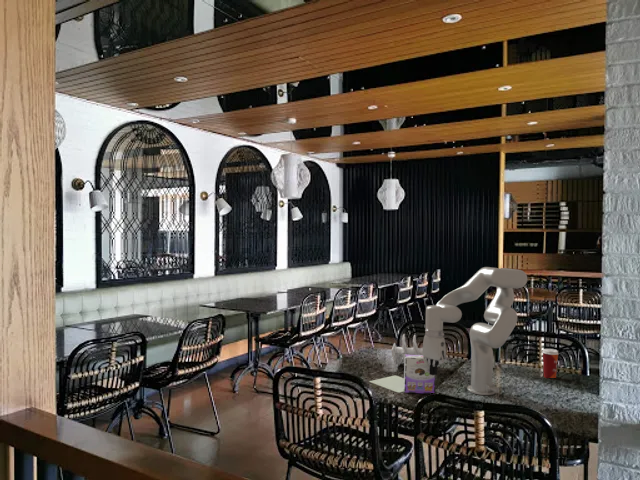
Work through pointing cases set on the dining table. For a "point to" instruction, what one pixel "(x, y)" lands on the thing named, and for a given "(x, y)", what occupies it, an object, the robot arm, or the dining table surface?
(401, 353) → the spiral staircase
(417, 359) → the candy box
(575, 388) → the dining table surface
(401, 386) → the mat
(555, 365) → the paper cup
